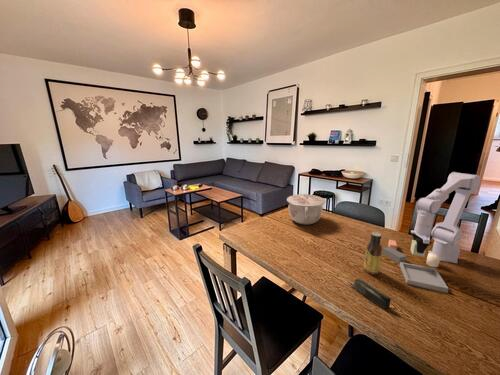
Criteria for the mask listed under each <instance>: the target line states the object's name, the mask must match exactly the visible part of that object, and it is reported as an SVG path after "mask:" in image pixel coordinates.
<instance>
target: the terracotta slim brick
mask: <svg viewBox="0 0 500 375" xmlns="http://www.w3.org/2000/svg"><path fill="white" fill-rule="evenodd" d="M389 246H390V247H391V248H393V249H395V250H397V248H398V244H397V242H396V240H393V239H388V244H387V247H389ZM397 251H398V250H397Z"/></svg>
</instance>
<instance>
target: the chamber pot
mask: <svg viewBox="0 0 500 375" xmlns="http://www.w3.org/2000/svg"><path fill="white" fill-rule="evenodd" d="M286 202H288V213H289V216H290V218H291V219H292V220H293V222H295V223H297V224H299V225H313V224H315V223H317V222H318V221H319V220H320V219H321V217H322V215H323V209H324V208H323V205H325V203H326V200H325V199H324V197H321V196H318V195H314V194H309V193H308V194H304V193H303V194H301V193H299V194H294V195H289V196H288V197H286Z"/></svg>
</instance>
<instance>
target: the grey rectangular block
mask: <svg viewBox="0 0 500 375" xmlns="http://www.w3.org/2000/svg"><path fill="white" fill-rule="evenodd" d="M382 255H384V256H386V257H388V258H389V259H391V260H392V261H394V262H395V263H397V264H400V262H403V263H407V254H404V253H403V252H400V251H399V250H395V249H393V248H391V247H390V246H389V247H388V246H387V247H386V246H385V247H382Z"/></svg>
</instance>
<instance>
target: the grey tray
mask: <svg viewBox="0 0 500 375" xmlns="http://www.w3.org/2000/svg"><path fill="white" fill-rule="evenodd" d="M399 268H400V270H401V273H402V276H403V278H404V280H405V283H406V285H410V286H414V287H417V288H423V289H426V290H427V289H428V290H431V291H436V292H442V293H446V294H448V292H449V287H448V286H447V284H446V282H445V280H444V279H443V277H442V276H441V275H440V273H439V271H438V270H437V269H436V267H431V266H429V267H428V266H423V265H418V264H413V263H408V262H400V263H399Z"/></svg>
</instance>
